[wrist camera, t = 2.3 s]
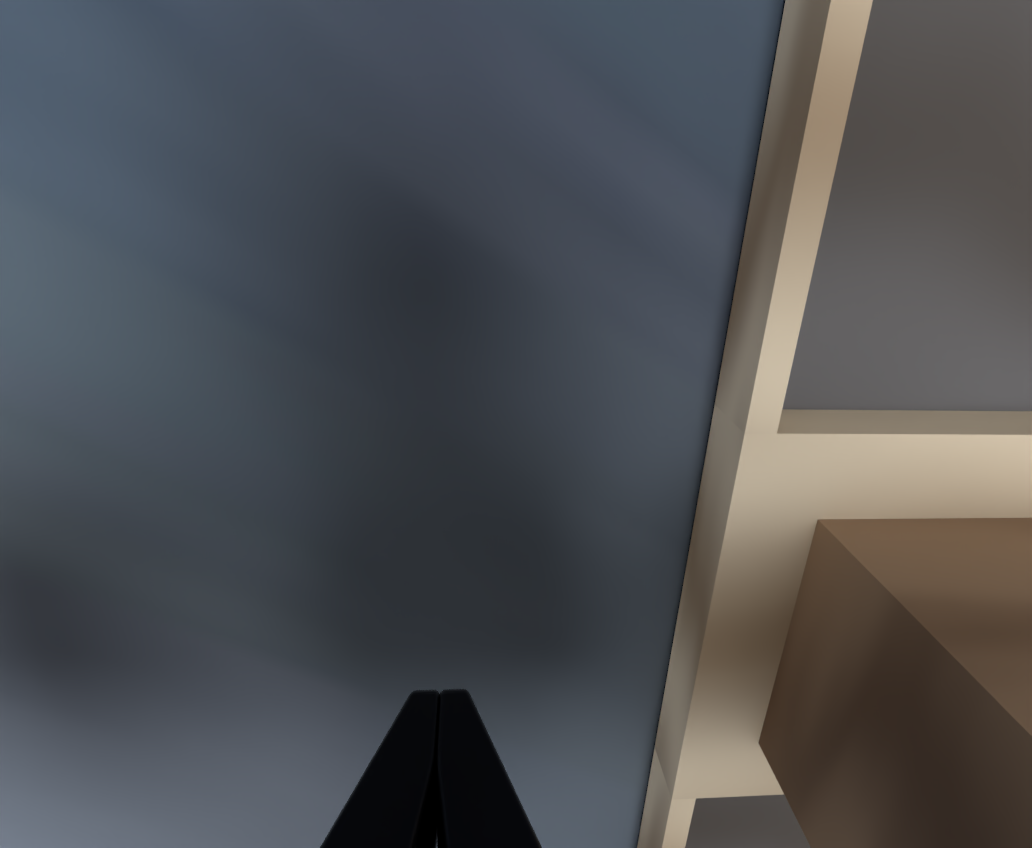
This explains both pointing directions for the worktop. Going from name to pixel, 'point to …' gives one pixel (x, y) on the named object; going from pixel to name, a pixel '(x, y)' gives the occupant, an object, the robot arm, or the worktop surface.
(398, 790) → the robot arm
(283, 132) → the worktop surface
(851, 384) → the trap board
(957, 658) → the walnut block
